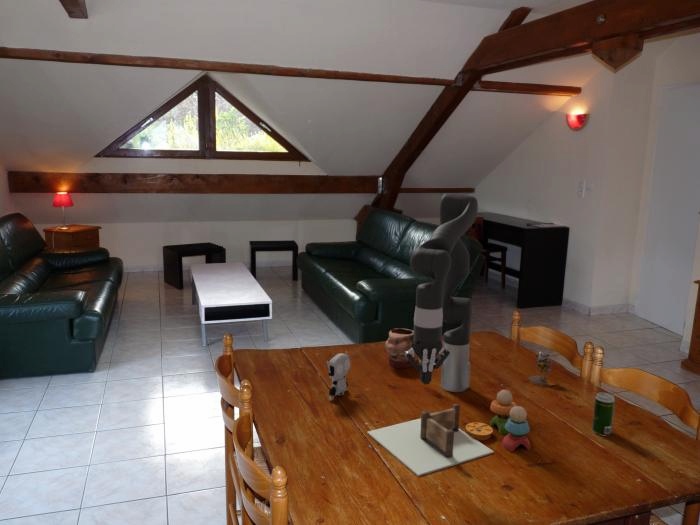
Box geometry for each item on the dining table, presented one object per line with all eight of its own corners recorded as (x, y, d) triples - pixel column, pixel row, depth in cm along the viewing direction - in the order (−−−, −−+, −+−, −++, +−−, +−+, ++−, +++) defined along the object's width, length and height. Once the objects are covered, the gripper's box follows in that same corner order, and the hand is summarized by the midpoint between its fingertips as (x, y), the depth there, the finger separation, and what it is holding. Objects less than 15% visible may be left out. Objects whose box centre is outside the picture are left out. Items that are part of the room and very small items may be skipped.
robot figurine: (560, 381, 211) (563, 351, 208) (557, 390, 202) (559, 358, 200) (529, 375, 216) (532, 346, 213) (525, 384, 207) (527, 353, 205)
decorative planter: (397, 353, 237) (398, 321, 235) (425, 358, 232) (426, 326, 229) (377, 369, 220) (378, 334, 217) (407, 374, 214) (408, 339, 212)
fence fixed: (455, 427, 172) (456, 402, 171) (460, 430, 170) (461, 405, 169) (418, 437, 166) (419, 411, 164) (423, 440, 164) (424, 415, 162)
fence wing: (424, 439, 163) (425, 417, 162) (430, 438, 164) (431, 415, 163) (448, 457, 154) (449, 433, 153) (454, 455, 155) (455, 432, 154)
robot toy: (335, 404, 188) (336, 361, 185) (324, 401, 190) (325, 359, 187) (354, 391, 198) (355, 351, 195) (343, 388, 200) (344, 348, 198)
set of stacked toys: (458, 429, 172) (460, 390, 170) (505, 421, 178) (508, 383, 176) (492, 458, 156) (494, 416, 154) (543, 448, 162) (546, 407, 159)
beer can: (615, 434, 170) (619, 397, 168) (602, 438, 168) (606, 400, 166) (600, 427, 175) (604, 390, 173) (587, 430, 173) (591, 393, 170)
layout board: (436, 415, 181) (436, 413, 181) (493, 452, 159) (493, 450, 158) (367, 433, 169) (367, 431, 168) (417, 476, 146) (418, 474, 146)
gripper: (409, 328, 146) (407, 391, 149) (456, 325, 149) (453, 387, 152) (400, 319, 153) (398, 380, 156) (445, 317, 156) (442, 376, 159)
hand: (425, 383), depth 154 cm, fingers closed
